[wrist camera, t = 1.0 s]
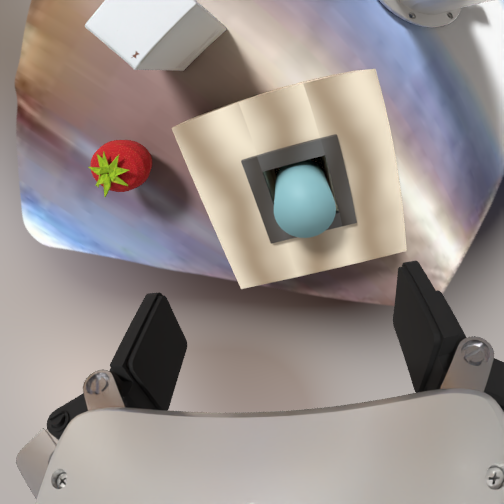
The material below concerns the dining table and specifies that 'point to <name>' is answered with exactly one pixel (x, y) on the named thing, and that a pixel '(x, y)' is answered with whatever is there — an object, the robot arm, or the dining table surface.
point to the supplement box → (155, 31)
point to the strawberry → (121, 165)
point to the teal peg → (303, 200)
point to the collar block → (292, 151)
